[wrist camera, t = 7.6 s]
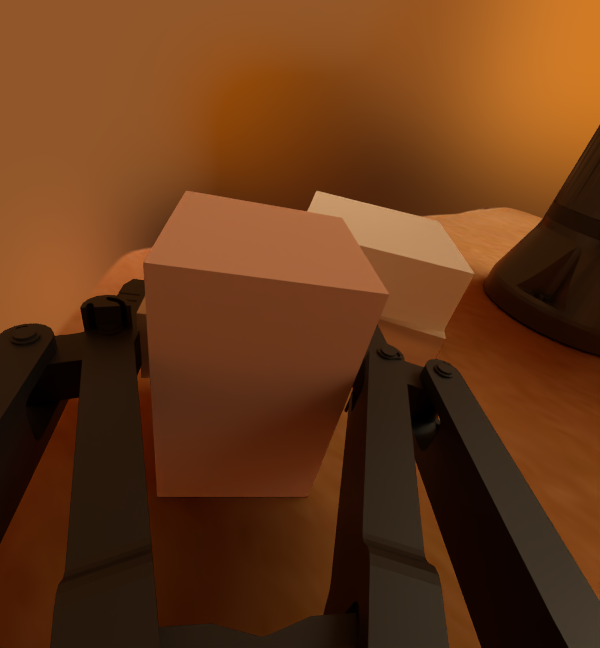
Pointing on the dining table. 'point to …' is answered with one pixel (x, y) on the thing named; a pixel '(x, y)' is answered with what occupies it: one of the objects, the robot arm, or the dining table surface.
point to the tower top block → (405, 259)
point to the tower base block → (412, 340)
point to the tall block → (252, 344)
